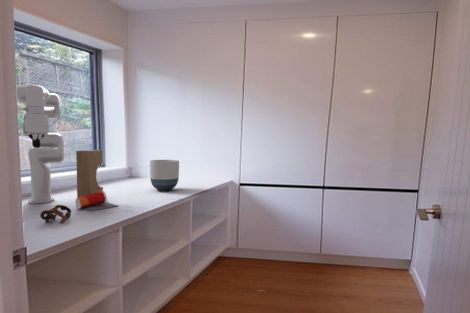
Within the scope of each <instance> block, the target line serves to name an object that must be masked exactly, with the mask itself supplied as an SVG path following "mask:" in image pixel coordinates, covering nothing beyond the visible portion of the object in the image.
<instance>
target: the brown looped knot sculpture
mask: <svg viewBox="0 0 470 313" xmlns="http://www.w3.org/2000/svg"><path fill="white" fill-rule="evenodd" d="M59 209H60V210H61V211H60V210H59ZM63 211H66V212H65V214H64V212H63ZM71 213H72V210H71V208H70V207H68V206H65V205H61V204H57V205H55V206H54V207H51V208H50V209H49V210H48V209H45V210H42V211H41V212H40V214H39V215H40V218H41V219H42V220H44V221H45V223H49V222H50V220H56V218H57V216H58V217H61V220H60V223H62V224H64V223H65V222H66V221H68V220H69V219H71V216H72V214H71Z"/></svg>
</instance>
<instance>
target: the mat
mask: <svg viewBox="0 0 470 313" xmlns="http://www.w3.org/2000/svg"><path fill="white" fill-rule="evenodd" d="M118 207H119V205H118V204H114V203H111V202H107V201H106V202H105V203H104V204H98V205H94V206H89V207H85V208H81V209H82V210H86V211H89V212H95V211H101V210H108V209H111V208H112V209H113V208H118Z"/></svg>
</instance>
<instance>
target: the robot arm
mask: <svg viewBox="0 0 470 313" xmlns="http://www.w3.org/2000/svg"><path fill="white" fill-rule="evenodd" d="M16 88H17V98H16V99H18V100H17V101H18V102H20V103H24V104H25V107H22V111H24V112H25V113H24V114H23V121H22V130H23V134H22V135H23V137H24V136H25V137H28V138H29V139H31V143H32V148H30V149H29V150H28V153H27V156H28V160H29V168H30V188H31V189H30V190H31V191H30V192H31V194H30V195H31V199H29V200H28V203H29V204H45V203H51V202H53V201H54V200H55V198H54V197H52V187H51V182H52V181H51V170H50V168H49V167H48V166H47V165H46V164H61V163H62V162H63V161H64V158H65V150H64V149H65V148H64V147H65V146H64V138H63V135H62V134H60V133H58V132H57V133H55V132H50V127H49V122H58V121H60V120H61V118H62V117H61V116H62V112H61V110H62V109H61V100H60V96H59V95H58V94H56V93H52V92H51V93H50V92H49V91H48V90H47V88H45V87H43V86H42V85H37V84H27V85H25V86H24V85H20V86H17V87H16Z"/></svg>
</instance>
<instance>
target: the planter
mask: <svg viewBox="0 0 470 313" xmlns="http://www.w3.org/2000/svg"><path fill="white" fill-rule="evenodd" d="M149 176H150V177H149V178H150V183H151V185H152V187H153V188H154V189H155V190H158V191H161V192H168V191H171V190H173V189H174V188H175V187H176V186H177V185H178V184H179V183H178V182H179V176H180V160H178V159H152V160H150V161H149Z"/></svg>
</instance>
